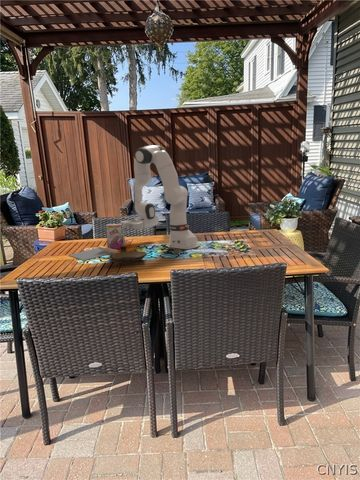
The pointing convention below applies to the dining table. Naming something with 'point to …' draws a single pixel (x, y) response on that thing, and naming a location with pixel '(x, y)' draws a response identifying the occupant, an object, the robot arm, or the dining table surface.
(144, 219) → the robot arm
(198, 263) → the dining table surface
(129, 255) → the oil lamp
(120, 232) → the candy bar box
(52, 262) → the dining table surface
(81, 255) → the grey mat
